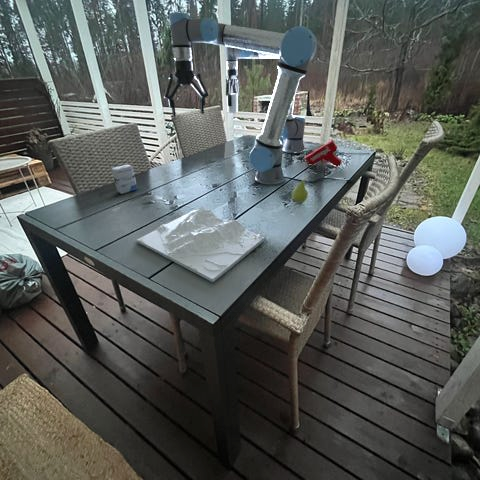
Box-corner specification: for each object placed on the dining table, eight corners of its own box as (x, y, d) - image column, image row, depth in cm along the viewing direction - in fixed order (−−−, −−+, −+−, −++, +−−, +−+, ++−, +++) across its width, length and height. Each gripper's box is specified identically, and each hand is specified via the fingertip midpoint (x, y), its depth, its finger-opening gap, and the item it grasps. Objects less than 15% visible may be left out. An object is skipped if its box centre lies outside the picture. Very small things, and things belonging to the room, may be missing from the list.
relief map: (212, 282, 77) (211, 268, 74) (137, 242, 94) (134, 229, 91) (264, 240, 95) (265, 227, 92) (193, 213, 113) (192, 201, 110)
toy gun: (345, 161, 161) (332, 139, 157) (345, 163, 157) (332, 140, 153) (317, 176, 171) (305, 156, 167) (317, 178, 167) (304, 158, 163)
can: (239, 111, 203) (239, 93, 197) (235, 113, 197) (235, 94, 191) (229, 111, 206) (229, 93, 199) (225, 112, 199) (225, 94, 193)
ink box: (133, 186, 138) (127, 163, 132) (137, 189, 135) (132, 165, 129) (116, 191, 133) (110, 167, 127) (121, 194, 130) (114, 170, 124)
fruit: (288, 200, 123) (290, 174, 116) (302, 197, 125) (305, 172, 119) (296, 206, 118) (299, 179, 111) (310, 203, 120) (314, 177, 114)
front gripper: (207, 60, 123) (210, 111, 134) (151, 60, 114) (160, 115, 125) (213, 60, 117) (216, 113, 129) (155, 59, 108) (163, 117, 119)
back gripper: (234, 68, 196) (234, 103, 208) (219, 69, 180) (221, 106, 193) (243, 68, 193) (243, 104, 205) (229, 69, 178) (230, 107, 190)
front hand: (188, 114), depth 127 cm, fingers open, 13 cm apart
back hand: (232, 105), depth 199 cm, fingers closed on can, 8 cm apart
